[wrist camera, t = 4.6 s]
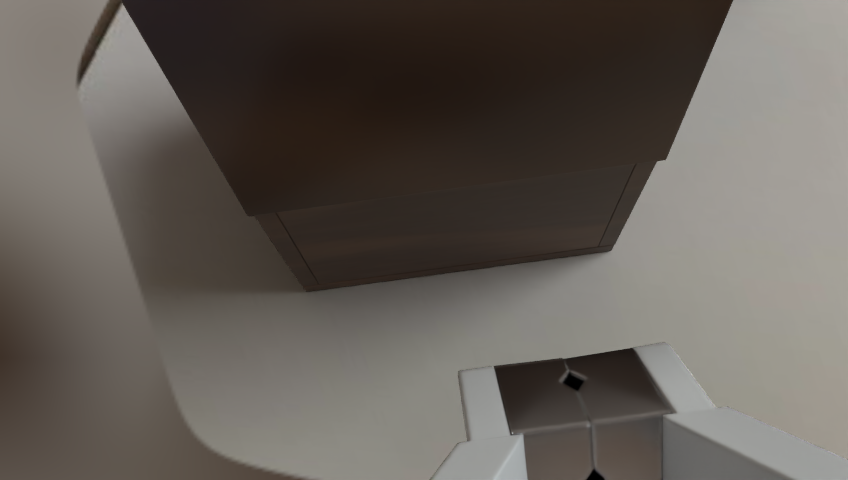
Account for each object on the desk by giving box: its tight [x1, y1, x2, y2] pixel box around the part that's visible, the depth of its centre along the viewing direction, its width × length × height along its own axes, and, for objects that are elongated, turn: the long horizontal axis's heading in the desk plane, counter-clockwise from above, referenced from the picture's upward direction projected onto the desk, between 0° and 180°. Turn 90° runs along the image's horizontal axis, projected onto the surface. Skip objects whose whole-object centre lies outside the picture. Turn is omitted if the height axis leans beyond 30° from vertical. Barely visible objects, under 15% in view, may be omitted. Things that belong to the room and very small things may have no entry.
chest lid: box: [121, 0, 733, 216], centre depth 19 cm, size 12×15×1 cm
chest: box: [255, 161, 657, 292], centre depth 31 cm, size 12×15×9 cm
